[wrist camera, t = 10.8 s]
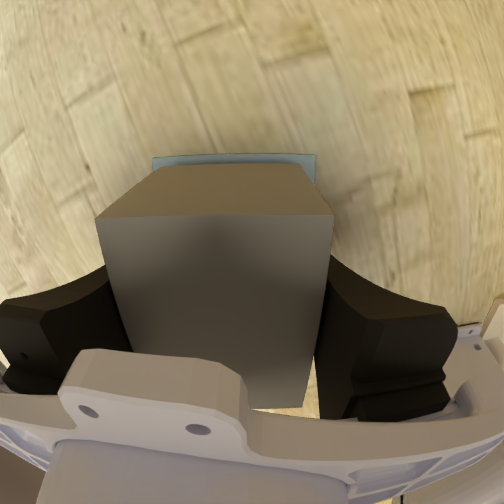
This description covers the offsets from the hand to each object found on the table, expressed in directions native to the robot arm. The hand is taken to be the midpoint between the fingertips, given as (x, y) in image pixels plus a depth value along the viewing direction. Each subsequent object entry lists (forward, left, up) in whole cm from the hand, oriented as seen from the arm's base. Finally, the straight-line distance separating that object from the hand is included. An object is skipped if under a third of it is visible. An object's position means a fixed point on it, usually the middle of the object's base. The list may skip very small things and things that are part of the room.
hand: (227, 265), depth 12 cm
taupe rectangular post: (0, 0, -2) cm, 2 cm away
